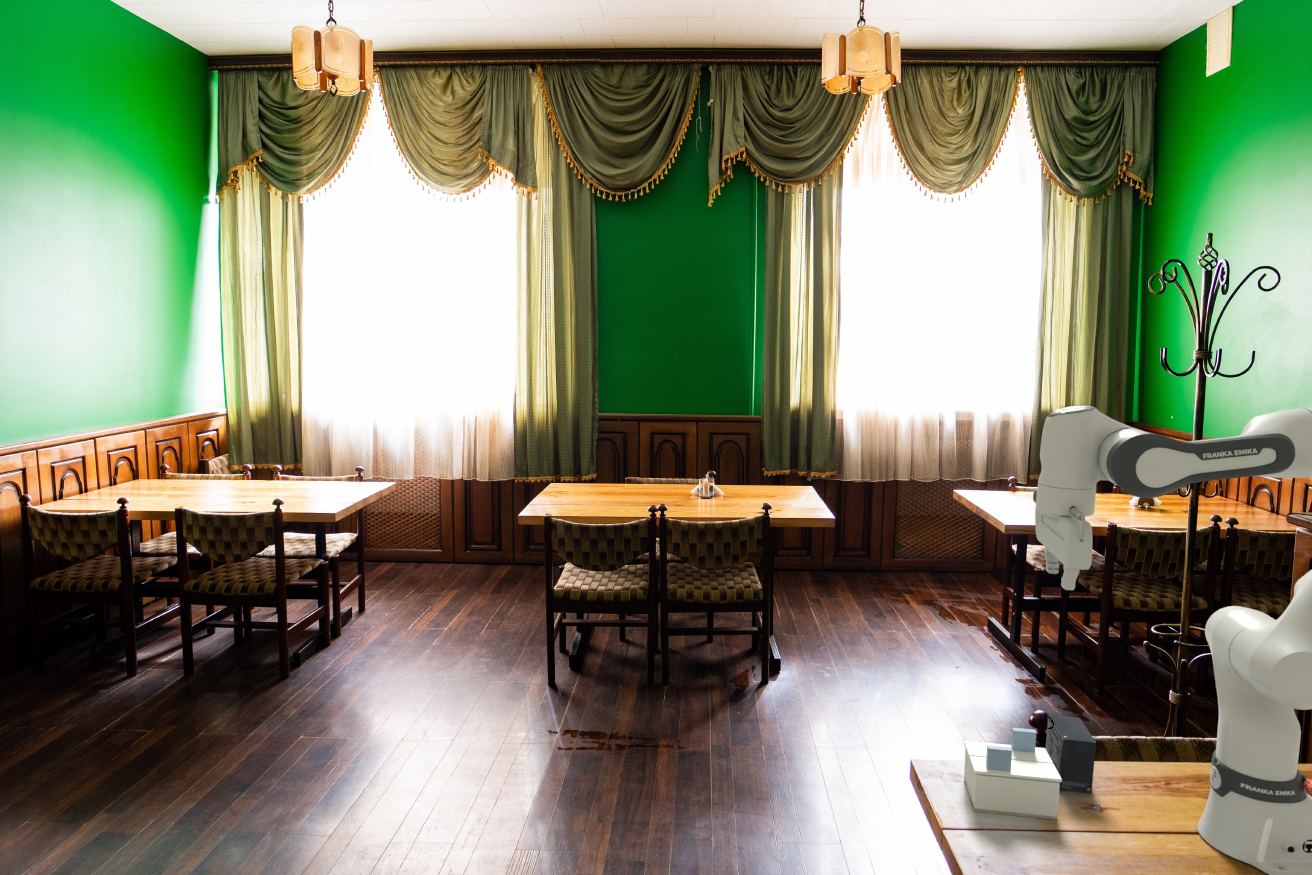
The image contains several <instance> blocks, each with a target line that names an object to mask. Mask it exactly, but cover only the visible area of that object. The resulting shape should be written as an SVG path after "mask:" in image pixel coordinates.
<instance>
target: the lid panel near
mask: <svg viewBox="0 0 1312 875" xmlns="http://www.w3.org/2000/svg"><path fill="white" fill-rule="evenodd" d="M969 759H970V762H971V764H972V767H973V770H974V773H975V774H984V775H994V776H1004V777H1014V778H1024V779H1034V780H1044V781H1055V782H1062V779H1061V777H1060V775H1059V773H1058V771H1057V769H1056V768H1055V766H1054V764H1050V763H1039V762H1029V761H1018V760H1011V759H1012V750H1011V748H1010V747H1000V746H989V745H987V755H986V757H976V756H969Z"/></svg>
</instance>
